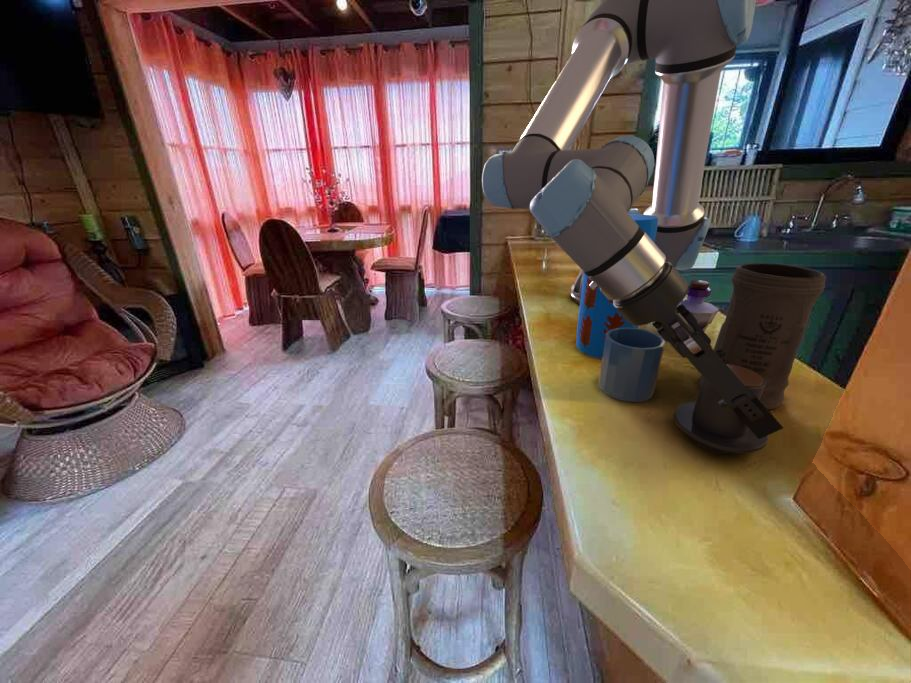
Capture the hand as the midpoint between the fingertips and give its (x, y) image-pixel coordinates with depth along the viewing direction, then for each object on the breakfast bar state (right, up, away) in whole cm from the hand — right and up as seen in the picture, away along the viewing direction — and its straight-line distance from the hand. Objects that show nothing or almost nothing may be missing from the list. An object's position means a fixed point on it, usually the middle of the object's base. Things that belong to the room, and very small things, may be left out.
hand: (755, 414), depth 47 cm
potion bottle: (+11, +10, +32) cm, 35 cm away
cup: (-10, +2, +14) cm, 17 cm away
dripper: (-3, -4, +3) cm, 6 cm away
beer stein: (+8, +2, +15) cm, 17 cm away
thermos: (-8, +8, +28) cm, 30 cm away
